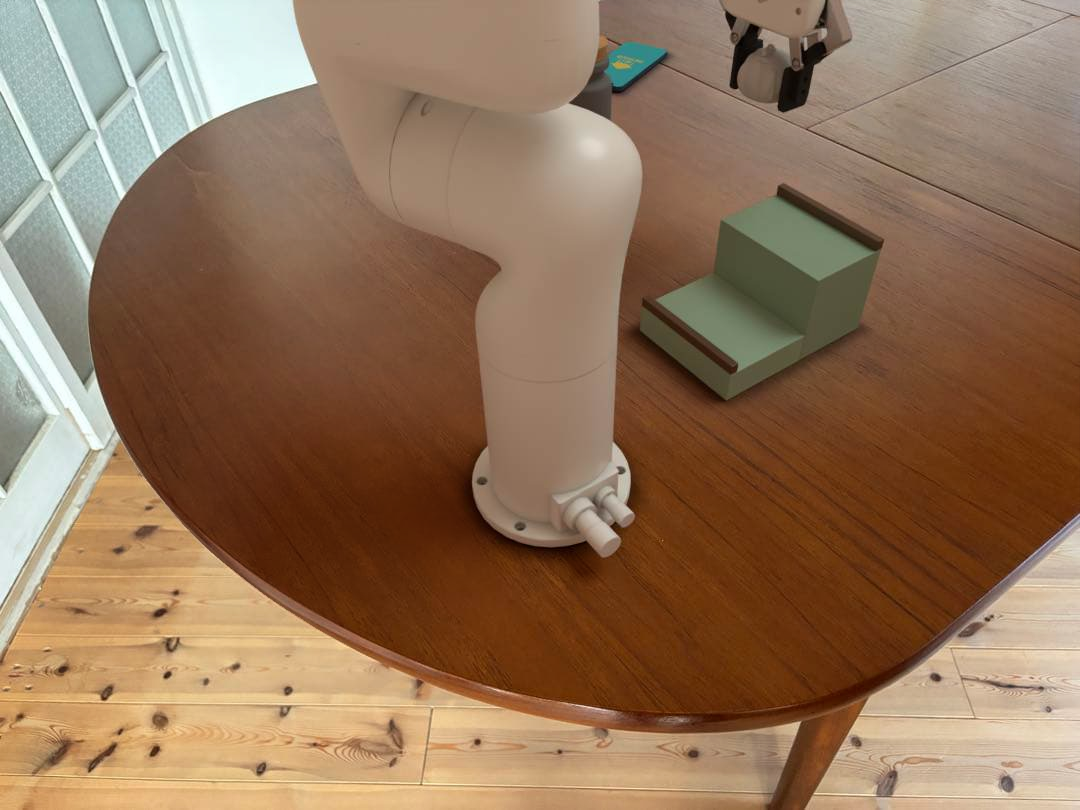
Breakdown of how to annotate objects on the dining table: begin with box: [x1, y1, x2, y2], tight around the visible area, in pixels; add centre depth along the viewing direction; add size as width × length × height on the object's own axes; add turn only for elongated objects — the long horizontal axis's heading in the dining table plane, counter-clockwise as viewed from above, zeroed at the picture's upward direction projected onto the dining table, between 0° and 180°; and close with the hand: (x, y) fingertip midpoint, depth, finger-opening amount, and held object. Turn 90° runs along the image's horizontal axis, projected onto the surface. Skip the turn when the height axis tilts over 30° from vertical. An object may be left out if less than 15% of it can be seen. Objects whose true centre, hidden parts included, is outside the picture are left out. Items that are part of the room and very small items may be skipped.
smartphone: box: [604, 41, 669, 92], centre depth 125 cm, size 7×1×15 cm
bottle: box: [569, 34, 613, 122], centre depth 100 cm, size 6×6×15 cm
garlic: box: [737, 43, 791, 104], centre depth 79 cm, size 6×5×5 cm
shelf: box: [639, 182, 885, 401], centre depth 79 cm, size 12×17×10 cm
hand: (767, 94), depth 80 cm, fingers closed on garlic, 5 cm apart
